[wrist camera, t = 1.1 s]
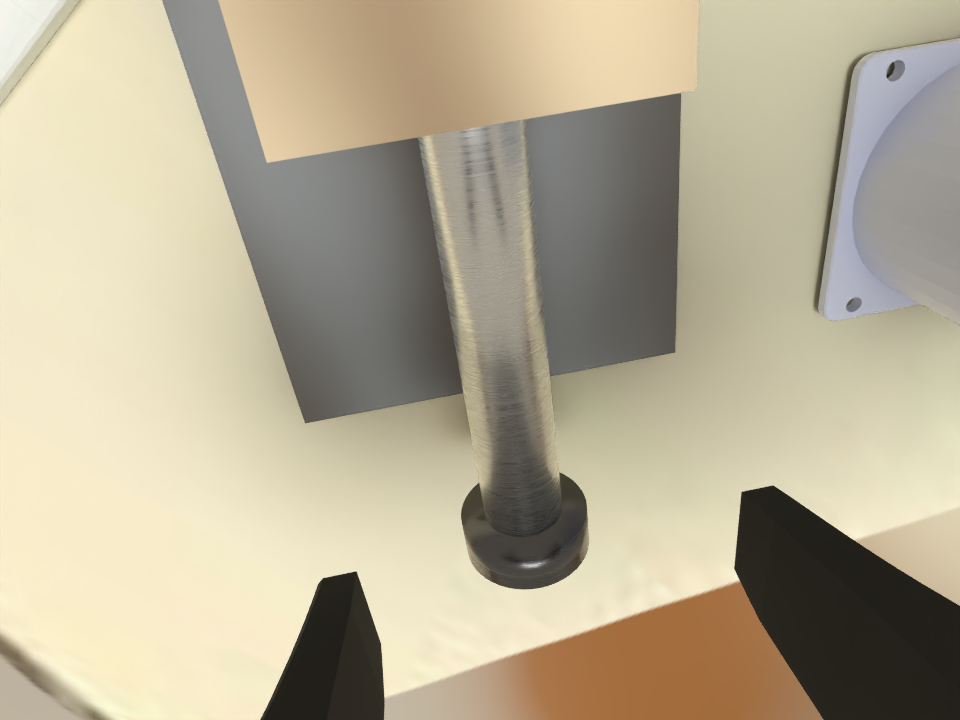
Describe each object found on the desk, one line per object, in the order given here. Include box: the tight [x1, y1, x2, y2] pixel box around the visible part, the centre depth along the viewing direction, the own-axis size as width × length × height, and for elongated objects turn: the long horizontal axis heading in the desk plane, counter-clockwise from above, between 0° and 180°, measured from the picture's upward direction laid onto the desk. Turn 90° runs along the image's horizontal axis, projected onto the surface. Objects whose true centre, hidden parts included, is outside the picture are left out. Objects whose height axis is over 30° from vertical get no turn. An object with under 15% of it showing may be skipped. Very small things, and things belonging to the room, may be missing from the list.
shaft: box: [418, 119, 589, 589], centre depth 12 cm, size 3×25×3 cm, turn 8°
